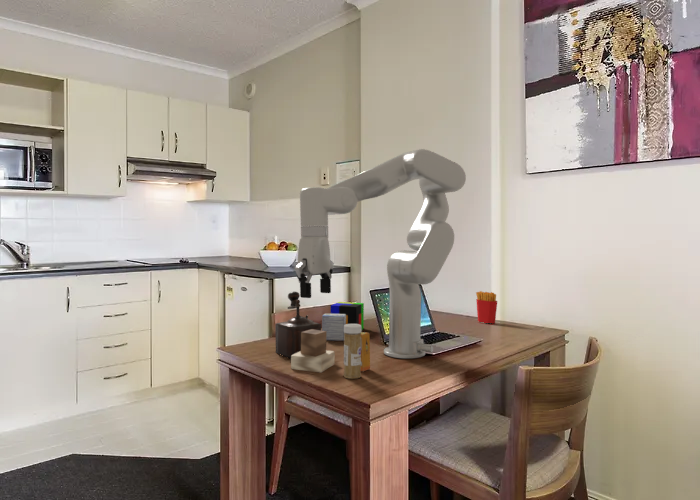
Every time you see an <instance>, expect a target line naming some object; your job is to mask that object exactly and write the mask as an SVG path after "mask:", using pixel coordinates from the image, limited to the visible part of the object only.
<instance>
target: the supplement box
mask: <svg viewBox="0 0 700 500" xmlns="http://www.w3.org/2000/svg"><path fill="white" fill-rule="evenodd" d="M370 341H371V340H370V333H369V332H365V331H364V332H363V331H362V332H361V365H360V366H361V368H360V369H361V370H360V371H361V372H363V373H364V372H366V371H368V370H371V344H370V343H371V342H370Z"/></svg>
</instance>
